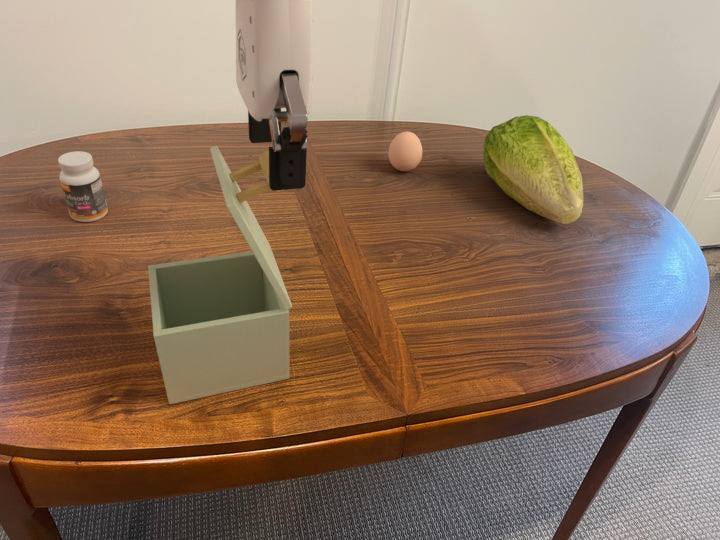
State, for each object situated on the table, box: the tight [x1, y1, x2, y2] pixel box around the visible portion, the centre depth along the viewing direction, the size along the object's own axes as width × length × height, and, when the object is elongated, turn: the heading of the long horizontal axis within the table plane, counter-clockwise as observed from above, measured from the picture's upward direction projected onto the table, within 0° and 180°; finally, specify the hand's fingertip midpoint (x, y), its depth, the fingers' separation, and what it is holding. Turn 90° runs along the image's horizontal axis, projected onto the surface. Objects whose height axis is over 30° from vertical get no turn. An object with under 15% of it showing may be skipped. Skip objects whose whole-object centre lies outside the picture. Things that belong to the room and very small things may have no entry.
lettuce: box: [482, 114, 585, 225], centre depth 98 cm, size 14×24×15 cm
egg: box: [387, 131, 424, 172], centre depth 104 cm, size 7×7×8 cm
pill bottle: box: [57, 150, 109, 223], centre depth 83 cm, size 6×6×10 cm
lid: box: [209, 145, 293, 310], centre depth 56 cm, size 14×12×6 cm
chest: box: [147, 250, 291, 405], centre depth 62 cm, size 14×12×11 cm
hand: (275, 163), depth 52 cm, fingers open, 9 cm apart
